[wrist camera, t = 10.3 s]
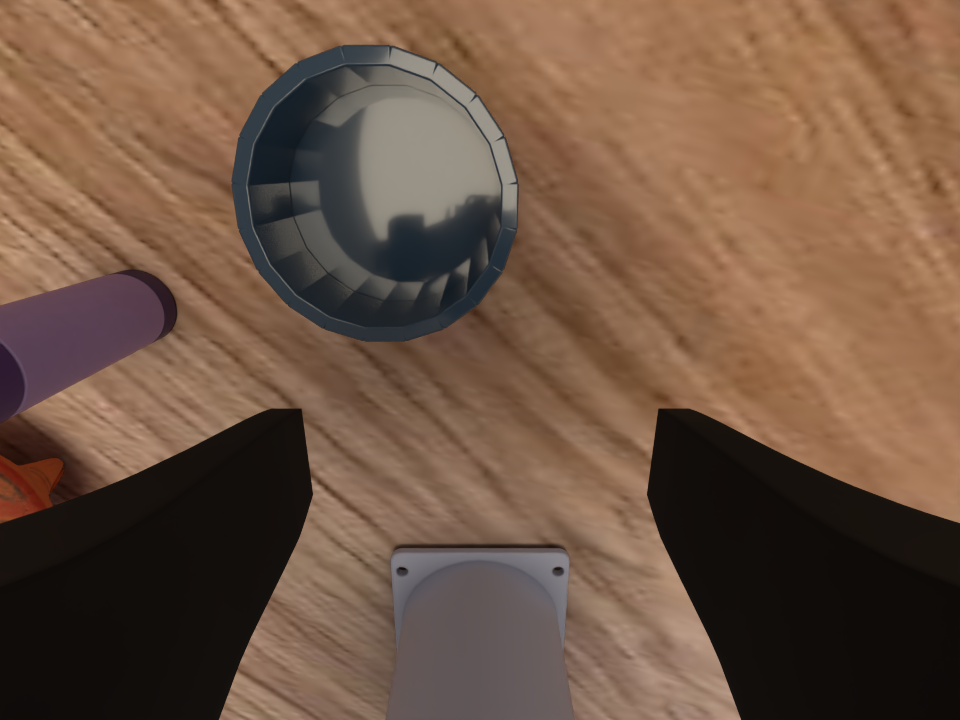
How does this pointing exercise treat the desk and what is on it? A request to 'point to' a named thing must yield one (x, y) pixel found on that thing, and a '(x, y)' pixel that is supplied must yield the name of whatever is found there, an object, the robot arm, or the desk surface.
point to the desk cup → (375, 193)
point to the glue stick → (77, 334)
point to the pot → (27, 486)
